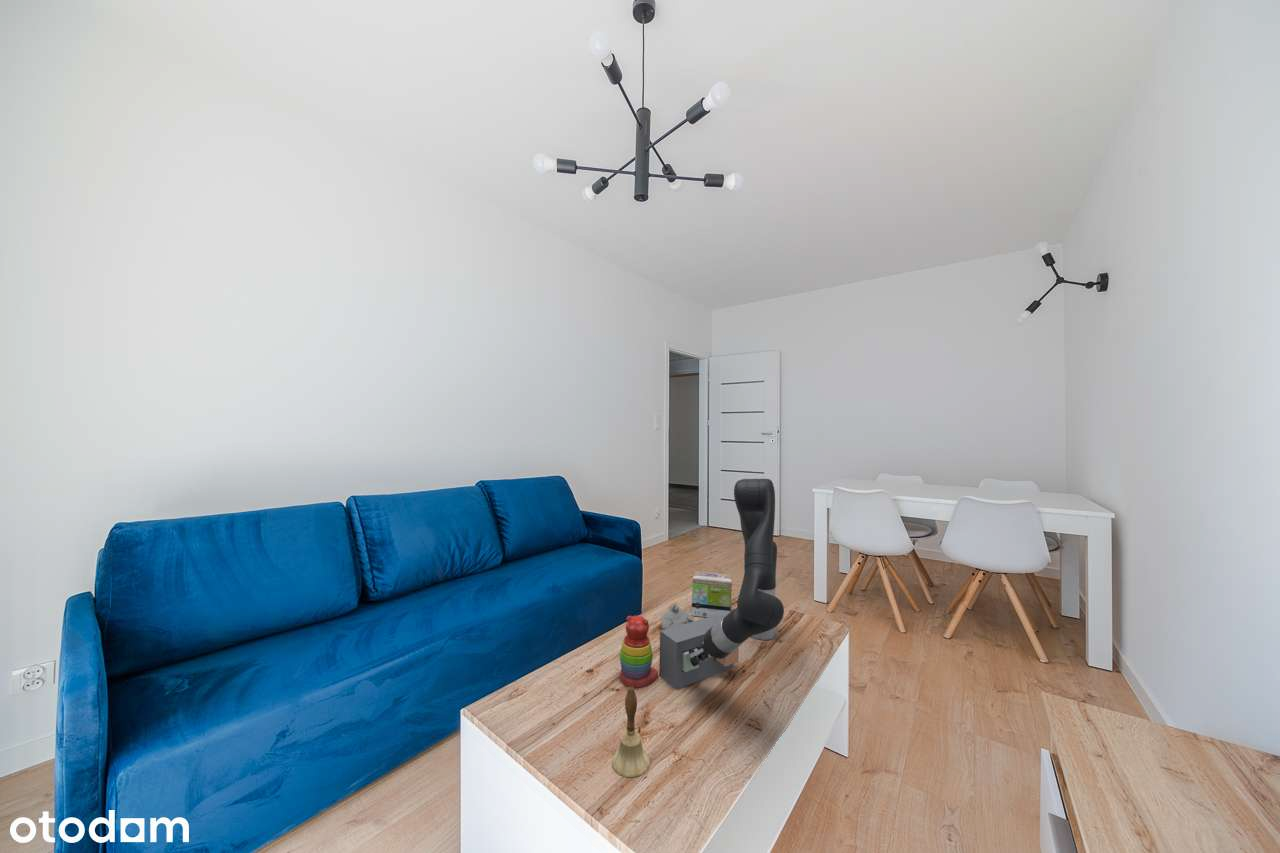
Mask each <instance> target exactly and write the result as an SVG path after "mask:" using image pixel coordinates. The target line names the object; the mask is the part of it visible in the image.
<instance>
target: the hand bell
mask: <svg viewBox="0 0 1280 853" xmlns="http://www.w3.org/2000/svg"><path fill="white" fill-rule="evenodd" d="M624 706H625V708H624V709H625V713H626V716H627V718H626V719H627V722H626V723H627V724H626V731H624V733H622V735H621V737H620V741H619V747H618V749H617V750H616V751H615V752H614V753H613V756H612V758H611V766H612V769H613V771H614V772H615V773H617V774H618V775H620V776H622V777H625V778H636V777H640V776H642V775H643V774H645V773H646V772H647V771H648V770H649V768H650V765H651V760H650V756H649V755H648V753H647V752H646V751H645V749H644V748H643V742H642V737H641V734H640V733H639V732H637V731H636V730H635V729H636V727H635V724H636V722H635V716H636V712H637V706H638V698H637V694H636V692H635V687H629V686H628V688H627V692H626V694H625V700H624Z"/></svg>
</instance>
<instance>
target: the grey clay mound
mask: <svg viewBox="0 0 1280 853" xmlns="http://www.w3.org/2000/svg"><path fill="white" fill-rule="evenodd" d="M660 621H661V629H662V630H665V629H668V628H672V627H676V626H679V625H683V624H686V623H690V622H693V621H695V619H694V617H693V616H692V614H690V613H688V612H687V611H686V610H685V609H683V608H681V607H679V605H678V604H676V603H674V604H673V605H671V607H670V608H669V609H668V610H667V611H665V613H663V614H662V615H660Z"/></svg>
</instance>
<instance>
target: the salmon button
mask: <svg viewBox="0 0 1280 853" xmlns="http://www.w3.org/2000/svg"><path fill="white" fill-rule="evenodd" d="M739 647H740V646H739ZM739 647H738V648H737V649H736V650H734V651H733V652H732V653H730V654H729V655H728V656H726V657H725V658H722V659H719V658H716V660H717V661H718V662H720V663H721V664H723V665H724V666H728V665H731V664H736V663H739V649H740V648H739Z"/></svg>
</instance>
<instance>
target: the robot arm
mask: <svg viewBox="0 0 1280 853" xmlns="http://www.w3.org/2000/svg"><path fill="white" fill-rule="evenodd" d="M733 487H734V489H733V497H734V504H735V506H736V509H737V512H738V516H739V521H740V529H741V534H742V537H743V542H744V555H743V558H744V561H743V564H744V571H743V572H744V573H743V579H742V583H741V587H740V591H739V594H738V597H737V600H736V608H734V609H731V612H730V613H729V614H728V615H726V616H725V617H724V618H722V619H720V620H719V621H718V622H717V623H716V624H714V625H713V626H712V627H711V628H710V629H709V630H708V631H707V632H706V633H705V635H704V642H702V643H701V645H700V646H699V647H698V648H697V651H695V650H689V654H690V656H691V659H690V661H691V663H692V665H693V666H697V665H699V664H700V663H701V662H703V661H706V660H707V659H711V658H713V657H715V658H719V659H722V658H725V657H726V656H728V655H729V654H730V653H732V652H733V651H734V650H736V649H737V648H738V647H741V645H742V644H744V642H745V641H747V640H749V638H751V637H752V638H754V639H757V640H761V641H762V640H763V641H768V640H771V639H774V638H775V636H776V635H777V632H778V631H777V630H778V629H777V628H778V625H780V623H781V622H782V620H783V618H784V614H785V608H784V604H783V602H782V601H781V600H780V599H779V598H778V597H776V591H777V590H776V588H777V586H776V584H777V582H776V579H777V578H776V575H777V563H778V562H777V560H778V546H777V543H776V542H775V541H774V532H775V519H776V518H775V517H776V516H775V515H776V493H775V492H776V491H775V486H774V483H773V481H772V479H769V478H742V479H739V480H737V481H736V482H735V485H734V486H733Z"/></svg>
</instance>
